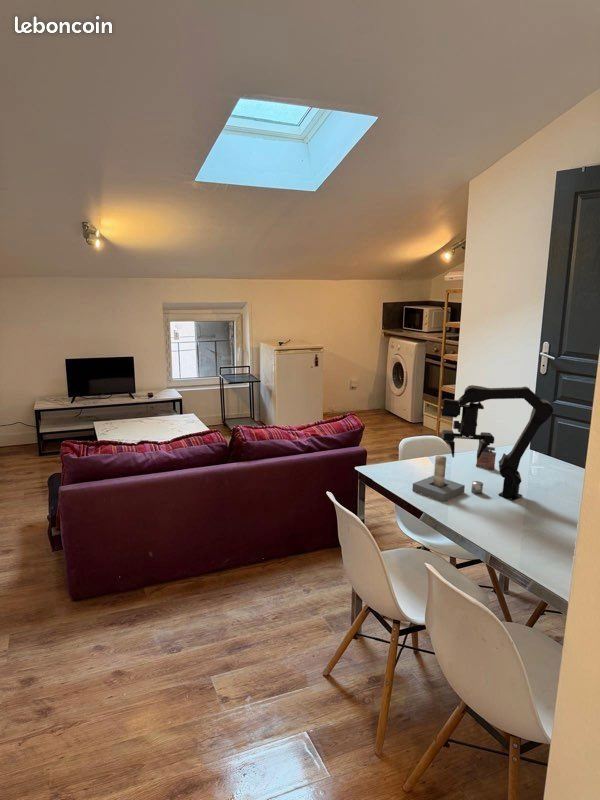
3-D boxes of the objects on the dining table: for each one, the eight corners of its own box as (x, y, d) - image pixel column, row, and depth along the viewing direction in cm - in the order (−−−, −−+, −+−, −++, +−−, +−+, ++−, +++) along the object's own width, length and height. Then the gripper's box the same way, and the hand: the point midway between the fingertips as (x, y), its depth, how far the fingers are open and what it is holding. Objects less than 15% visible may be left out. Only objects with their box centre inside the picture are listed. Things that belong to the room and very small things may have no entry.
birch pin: (433, 489, 206) (435, 455, 203) (443, 490, 205) (446, 456, 202) (432, 492, 202) (435, 458, 199) (443, 494, 201) (446, 459, 198)
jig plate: (433, 482, 213) (434, 475, 212) (464, 492, 203) (464, 485, 202) (412, 490, 204) (412, 483, 203) (443, 501, 194) (443, 494, 193)
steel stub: (474, 489, 206) (475, 480, 205) (484, 492, 203) (485, 483, 202) (469, 492, 203) (470, 482, 202) (478, 495, 200) (479, 485, 200)
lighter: (474, 467, 232) (476, 445, 230) (477, 464, 235) (479, 443, 233) (493, 470, 228) (495, 448, 226) (495, 468, 231) (497, 446, 228)
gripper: (489, 415, 206) (485, 453, 210) (441, 412, 208) (437, 450, 211) (496, 422, 195) (492, 462, 199) (445, 419, 197) (441, 458, 201)
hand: (465, 458), depth 203 cm, fingers open, 9 cm apart
